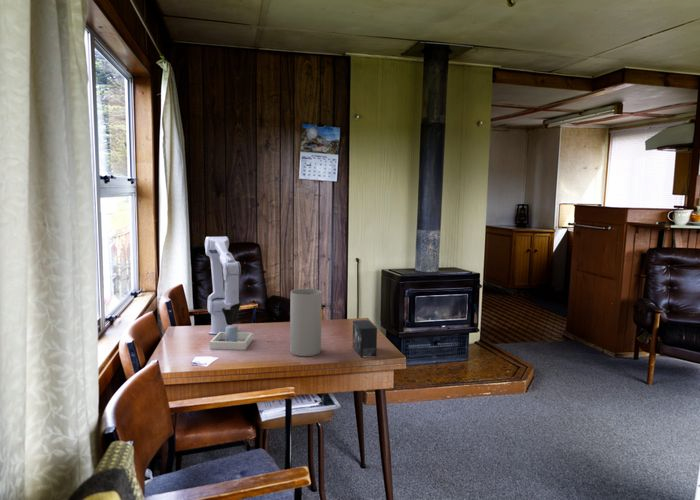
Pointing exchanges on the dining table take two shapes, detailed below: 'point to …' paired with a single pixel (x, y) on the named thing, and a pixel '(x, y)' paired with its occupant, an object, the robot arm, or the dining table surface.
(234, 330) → the cylinder
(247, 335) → the grey shallow square tray
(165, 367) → the dining table surface
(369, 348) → the small box
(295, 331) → the cylinder vase
